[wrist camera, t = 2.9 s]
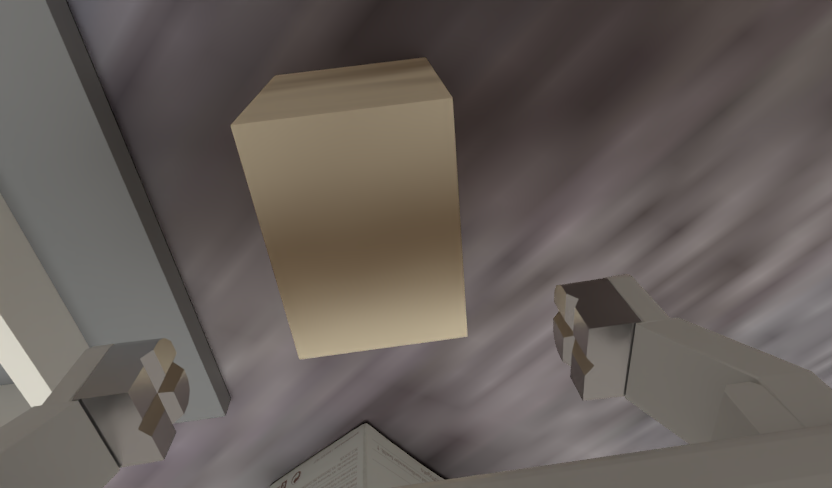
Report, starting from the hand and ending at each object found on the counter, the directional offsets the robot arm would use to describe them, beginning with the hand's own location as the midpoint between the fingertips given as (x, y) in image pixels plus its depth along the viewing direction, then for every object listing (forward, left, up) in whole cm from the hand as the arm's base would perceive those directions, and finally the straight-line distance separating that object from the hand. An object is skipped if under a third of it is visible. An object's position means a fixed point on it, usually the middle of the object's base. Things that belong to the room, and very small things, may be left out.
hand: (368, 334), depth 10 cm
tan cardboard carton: (-1, 0, -9) cm, 9 cm away
